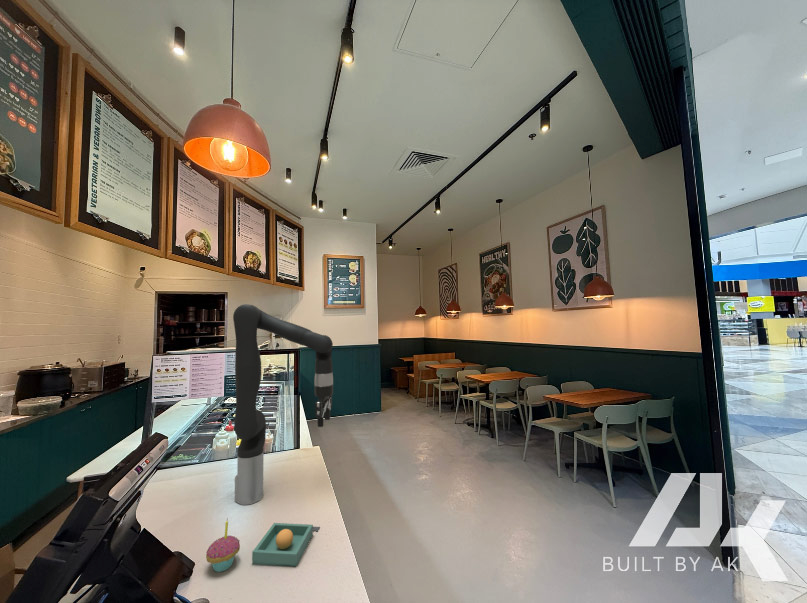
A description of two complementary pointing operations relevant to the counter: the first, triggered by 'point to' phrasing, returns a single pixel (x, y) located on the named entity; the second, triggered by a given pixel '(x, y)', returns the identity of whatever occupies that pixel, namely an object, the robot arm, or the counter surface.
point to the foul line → (316, 529)
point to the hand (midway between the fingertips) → (324, 423)
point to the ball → (284, 539)
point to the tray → (286, 557)
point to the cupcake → (223, 551)
